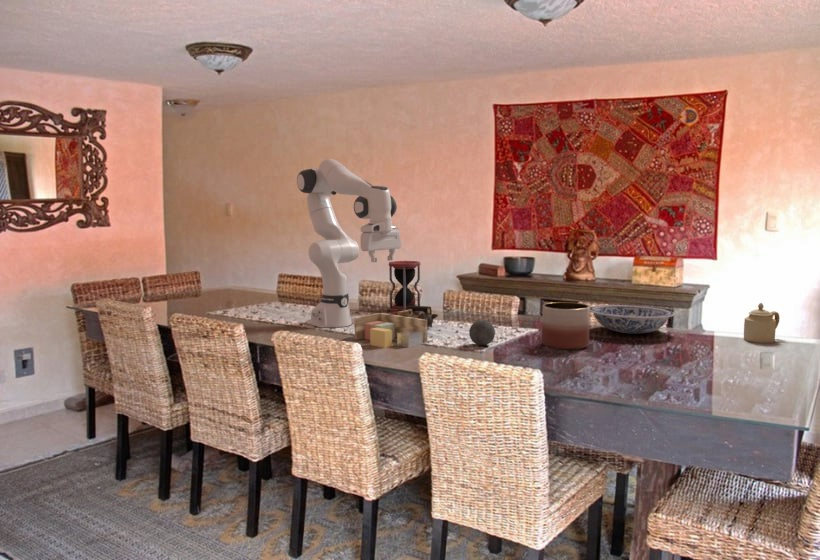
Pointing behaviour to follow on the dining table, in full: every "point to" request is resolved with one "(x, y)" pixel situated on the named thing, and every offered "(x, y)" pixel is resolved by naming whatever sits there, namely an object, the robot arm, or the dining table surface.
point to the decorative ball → (482, 332)
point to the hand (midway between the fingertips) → (382, 261)
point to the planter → (565, 325)
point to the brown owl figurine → (417, 313)
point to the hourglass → (404, 284)
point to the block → (409, 338)
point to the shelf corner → (400, 322)
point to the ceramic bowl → (631, 318)
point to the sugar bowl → (761, 325)
